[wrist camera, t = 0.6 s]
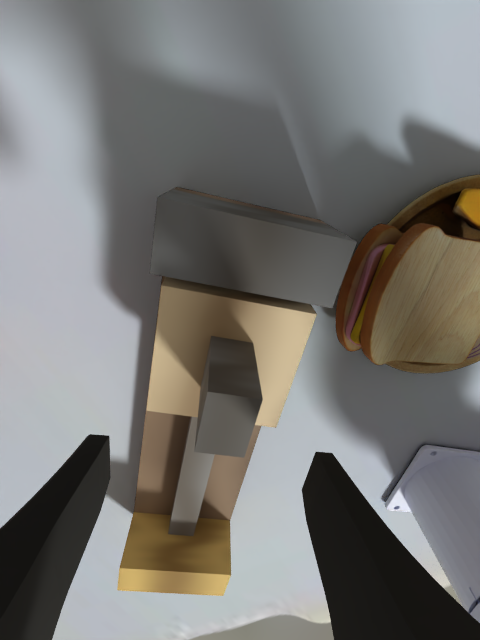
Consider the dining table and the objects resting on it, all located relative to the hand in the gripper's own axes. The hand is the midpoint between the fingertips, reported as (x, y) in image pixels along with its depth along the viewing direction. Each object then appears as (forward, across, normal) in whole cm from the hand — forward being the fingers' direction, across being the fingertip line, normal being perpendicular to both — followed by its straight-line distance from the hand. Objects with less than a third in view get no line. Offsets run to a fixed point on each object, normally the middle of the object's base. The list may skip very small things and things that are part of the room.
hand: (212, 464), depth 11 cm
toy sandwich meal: (+11, -13, -5) cm, 18 cm away
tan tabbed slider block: (+9, 0, -1) cm, 9 cm away
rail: (+10, 0, +6) cm, 12 cm away
